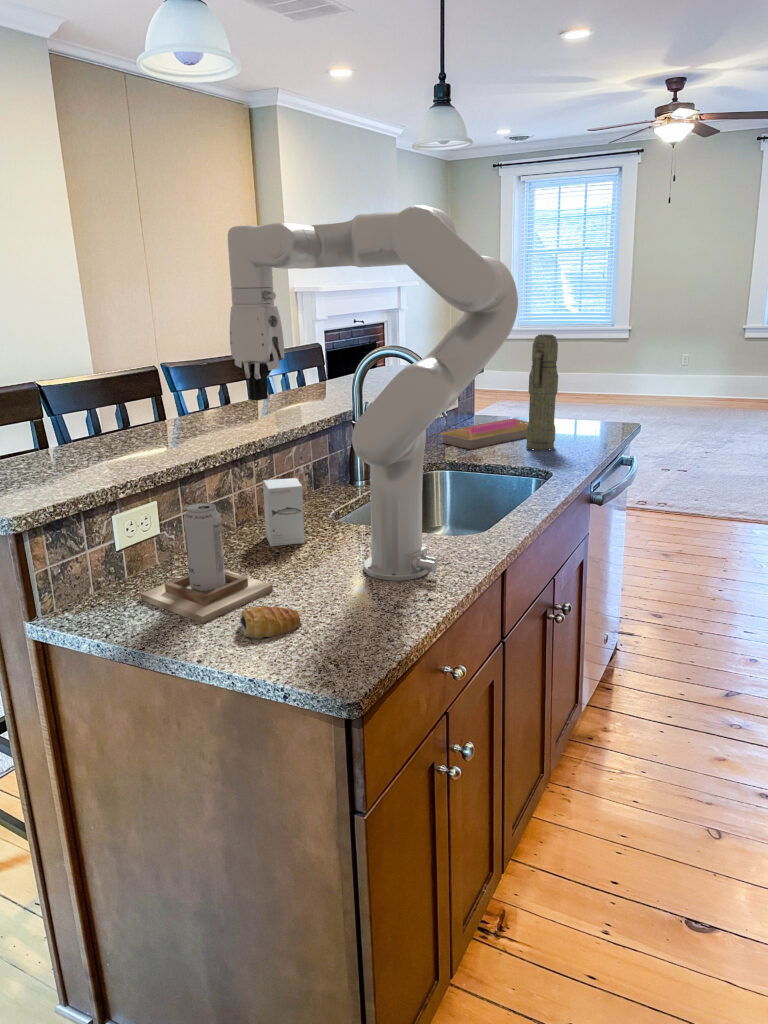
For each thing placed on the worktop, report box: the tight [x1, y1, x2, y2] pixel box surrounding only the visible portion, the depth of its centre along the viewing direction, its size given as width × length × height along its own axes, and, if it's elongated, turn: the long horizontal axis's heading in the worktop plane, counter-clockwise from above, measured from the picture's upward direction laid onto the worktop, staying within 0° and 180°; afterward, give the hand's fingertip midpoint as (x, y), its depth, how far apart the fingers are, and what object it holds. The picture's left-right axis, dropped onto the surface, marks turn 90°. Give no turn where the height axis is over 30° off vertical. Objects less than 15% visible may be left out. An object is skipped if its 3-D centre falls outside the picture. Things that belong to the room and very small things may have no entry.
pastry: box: [239, 605, 302, 640], centre depth 120 cm, size 9×7×4 cm
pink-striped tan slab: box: [438, 418, 529, 450], centre depth 255 cm, size 35×14×6 cm, turn 128°
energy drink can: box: [183, 502, 225, 594], centre depth 131 cm, size 6×6×15 cm
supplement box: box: [262, 477, 306, 548], centre depth 159 cm, size 7×7×13 cm
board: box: [139, 569, 274, 624], centre depth 133 cm, size 16×16×3 cm
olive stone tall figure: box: [525, 333, 559, 451], centre depth 236 cm, size 9×12×35 cm
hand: (258, 399), depth 143 cm, fingers closed
